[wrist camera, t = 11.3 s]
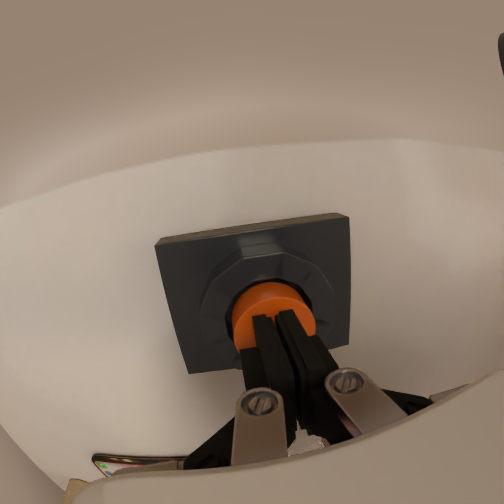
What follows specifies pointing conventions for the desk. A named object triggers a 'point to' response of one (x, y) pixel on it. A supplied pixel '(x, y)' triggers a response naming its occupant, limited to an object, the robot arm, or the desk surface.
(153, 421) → the desk surface
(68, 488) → the candle
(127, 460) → the smartphone
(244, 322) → the button
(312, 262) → the switch block
